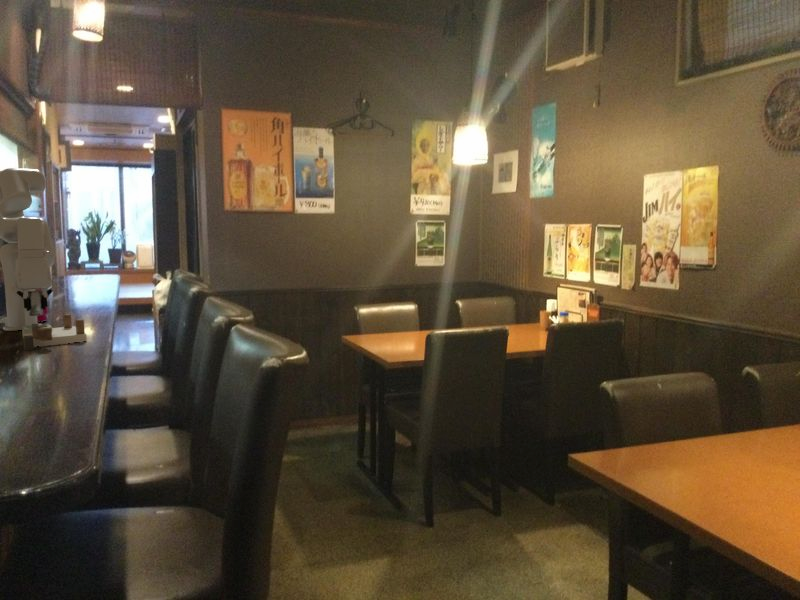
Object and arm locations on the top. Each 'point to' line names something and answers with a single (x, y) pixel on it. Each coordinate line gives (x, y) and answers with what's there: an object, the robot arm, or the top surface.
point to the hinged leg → (42, 333)
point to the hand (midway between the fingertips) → (36, 309)
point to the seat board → (56, 334)
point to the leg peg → (35, 303)
